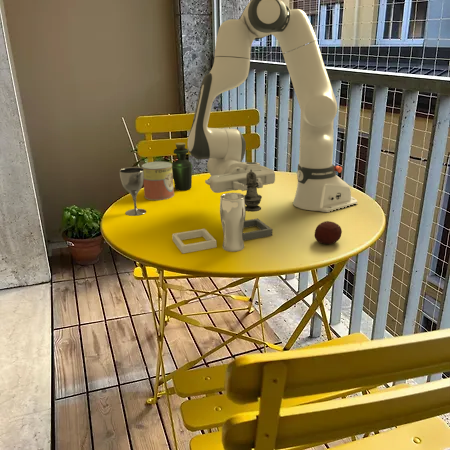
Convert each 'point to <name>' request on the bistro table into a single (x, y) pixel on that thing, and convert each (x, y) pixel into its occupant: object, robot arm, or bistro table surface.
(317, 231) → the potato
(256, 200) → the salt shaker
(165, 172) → the canned food
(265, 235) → the dark socket
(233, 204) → the beer glass
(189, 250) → the pale socket
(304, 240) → the bistro table surface
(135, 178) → the wine glass
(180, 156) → the potion bottle
